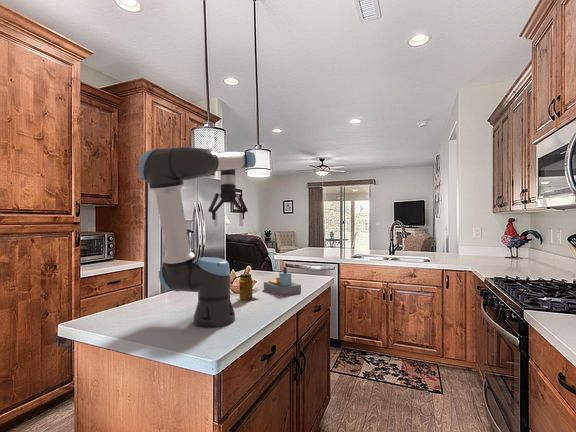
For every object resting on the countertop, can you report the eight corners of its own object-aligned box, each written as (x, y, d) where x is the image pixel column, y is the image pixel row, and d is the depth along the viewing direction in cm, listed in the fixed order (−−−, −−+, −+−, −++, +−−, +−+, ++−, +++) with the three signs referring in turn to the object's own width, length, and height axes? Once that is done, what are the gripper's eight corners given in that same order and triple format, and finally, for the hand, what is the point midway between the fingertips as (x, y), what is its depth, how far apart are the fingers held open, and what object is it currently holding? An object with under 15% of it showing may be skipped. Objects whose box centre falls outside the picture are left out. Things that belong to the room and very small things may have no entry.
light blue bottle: (286, 289, 164) (286, 266, 164) (291, 290, 160) (291, 267, 160) (279, 290, 162) (279, 267, 162) (284, 292, 158) (283, 268, 158)
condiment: (236, 299, 149) (235, 274, 149) (251, 296, 154) (251, 272, 154) (243, 302, 143) (243, 276, 143) (259, 299, 148) (259, 274, 148)
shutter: (288, 282, 166) (288, 276, 166) (275, 284, 162) (275, 278, 162) (281, 280, 172) (281, 274, 173) (268, 281, 168) (268, 275, 168)
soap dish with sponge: (301, 292, 160) (300, 284, 160) (281, 296, 154) (280, 288, 154) (282, 286, 175) (282, 279, 175) (263, 289, 169) (263, 282, 169)
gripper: (247, 186, 168) (248, 225, 168) (201, 183, 154) (201, 226, 154) (253, 184, 161) (254, 225, 161) (206, 182, 148) (206, 226, 148)
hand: (228, 226), depth 158 cm, fingers open, 13 cm apart
